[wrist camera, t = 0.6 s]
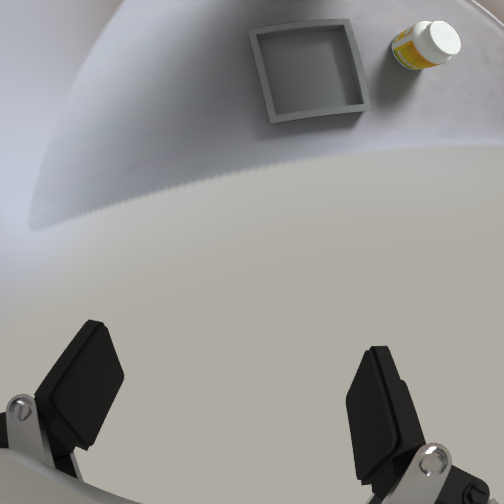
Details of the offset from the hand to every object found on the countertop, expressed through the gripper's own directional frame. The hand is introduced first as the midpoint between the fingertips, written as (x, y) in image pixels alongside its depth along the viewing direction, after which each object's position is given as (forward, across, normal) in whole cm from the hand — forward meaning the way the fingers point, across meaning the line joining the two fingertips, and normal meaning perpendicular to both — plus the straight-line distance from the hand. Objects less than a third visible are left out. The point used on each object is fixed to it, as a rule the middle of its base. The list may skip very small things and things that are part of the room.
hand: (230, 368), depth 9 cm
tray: (+28, -5, -15) cm, 32 cm away
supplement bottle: (+28, -18, -20) cm, 39 cm away
